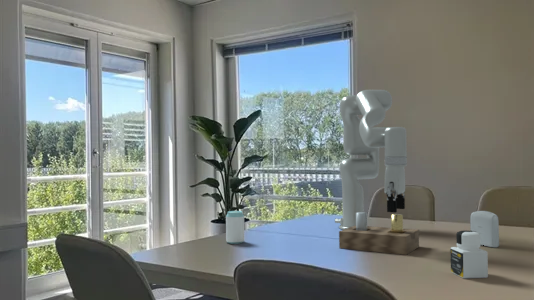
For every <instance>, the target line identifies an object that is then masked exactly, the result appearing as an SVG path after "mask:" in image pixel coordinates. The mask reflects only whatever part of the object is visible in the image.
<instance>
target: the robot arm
mask: <svg viewBox="0 0 534 300" xmlns="http://www.w3.org/2000/svg"><path fill="white" fill-rule="evenodd" d="M339 103H340V104H339V113H340V117H341V119H342V123H343V131H342V132H343V134H342V135H343V137H342V138H343V139H342V140H343V144H342V145H343V147H342V148H343V152H344V153H345V154H346V155H349V156H366V157H350V158H349V157H348V158H345V159H343V160H341V162H340V163H339V173H340V178H341V179H340V180H341V192H342V193H341V195H342V199H341V200H342V201H341V203H342V207H341V208H342V217H341V218H335V219H334V223H335V224H340V225H338V227H339V229H340V230H344V229H347V228H350V227H352V226H355V225H356V213H357V212H365V199H364V198H365V193H364V187H363V186H362V184H361V183H360V181H359V180H371V179H372V180H374V179H375V178H377V177H378V176H379V173H380V148H381V149H382V148H384V166H385V172H384V194H385V195H386V212H387V213H393V214H397V212H398V211H397V210H405V208H406V204H405V203H406V199H405V197H406V195H405V192H406V171H405V168H406V167H407V166H408V164H407V163H408V159H407V158H408V155H407V154H408V153H407V152H408V150H407V145H408V144H407V143H408V142H407V138H408V137H407V129H406V128H405V127H404V126H389V127H386V126H384V127H383V126H380V127H379V126H378V127H377V125H380V124H381V123H382V122H383V121H384V120H385V118H386V115H387V113H386V112H387V111H389V110H390V109H391V108H392V105H393V97H392V94H391V92H390V91H389V90H386V89H364V90H361V91H359V92H358V93H357V94H356V95H355V94H354V95H347V96H346V95H345V96H344V97H343V98H342V99H340V102H339ZM359 116H362V118H360V117H359Z"/></svg>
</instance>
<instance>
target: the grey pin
mask: <svg viewBox="0 0 534 300" xmlns="http://www.w3.org/2000/svg"><path fill="white" fill-rule="evenodd" d="M367 226H368V212H365V211H364V212H357V213H356V230H360V231H367Z"/></svg>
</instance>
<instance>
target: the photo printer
mask: <svg viewBox="0 0 534 300" xmlns="http://www.w3.org/2000/svg"><path fill="white" fill-rule="evenodd" d="M469 219H470V225H469V226H470V230H469V231H476V232H478V233H479V234H480V246H483V245H484V246H483V247H489V248H498V247H499V246H500V229H499V228H500V227H499V217H498V215H497V214H495V213H494V212H491V211H487V210H477V211H473V212H471V214H470V217H469Z"/></svg>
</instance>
